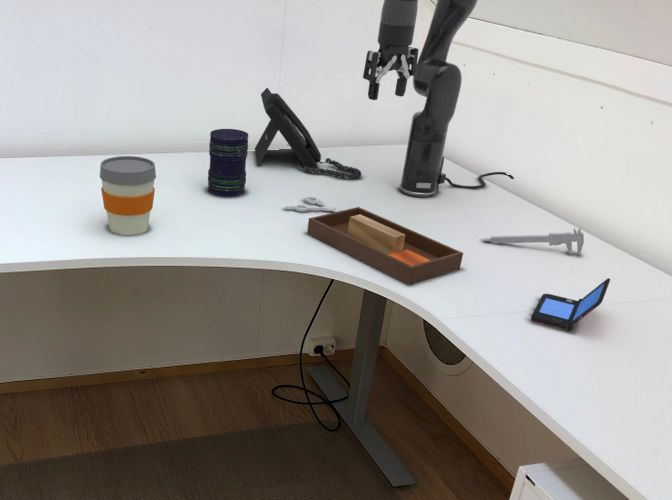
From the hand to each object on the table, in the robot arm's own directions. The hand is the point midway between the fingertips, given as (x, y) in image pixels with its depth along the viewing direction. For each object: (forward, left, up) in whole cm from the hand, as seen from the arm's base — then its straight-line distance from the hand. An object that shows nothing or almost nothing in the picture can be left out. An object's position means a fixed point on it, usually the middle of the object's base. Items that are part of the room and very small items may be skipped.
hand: (386, 97), depth 181 cm
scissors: (+7, -6, -28) cm, 30 cm away
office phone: (-14, -40, -28) cm, 51 cm away
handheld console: (+6, +59, -28) cm, 66 cm away
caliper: (-18, +34, -28) cm, 48 cm away
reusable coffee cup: (+56, -21, -28) cm, 66 cm away
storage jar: (+21, -31, -28) cm, 47 cm away
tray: (+14, +18, -28) cm, 36 cm away
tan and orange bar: (+14, +20, -27) cm, 37 cm away
